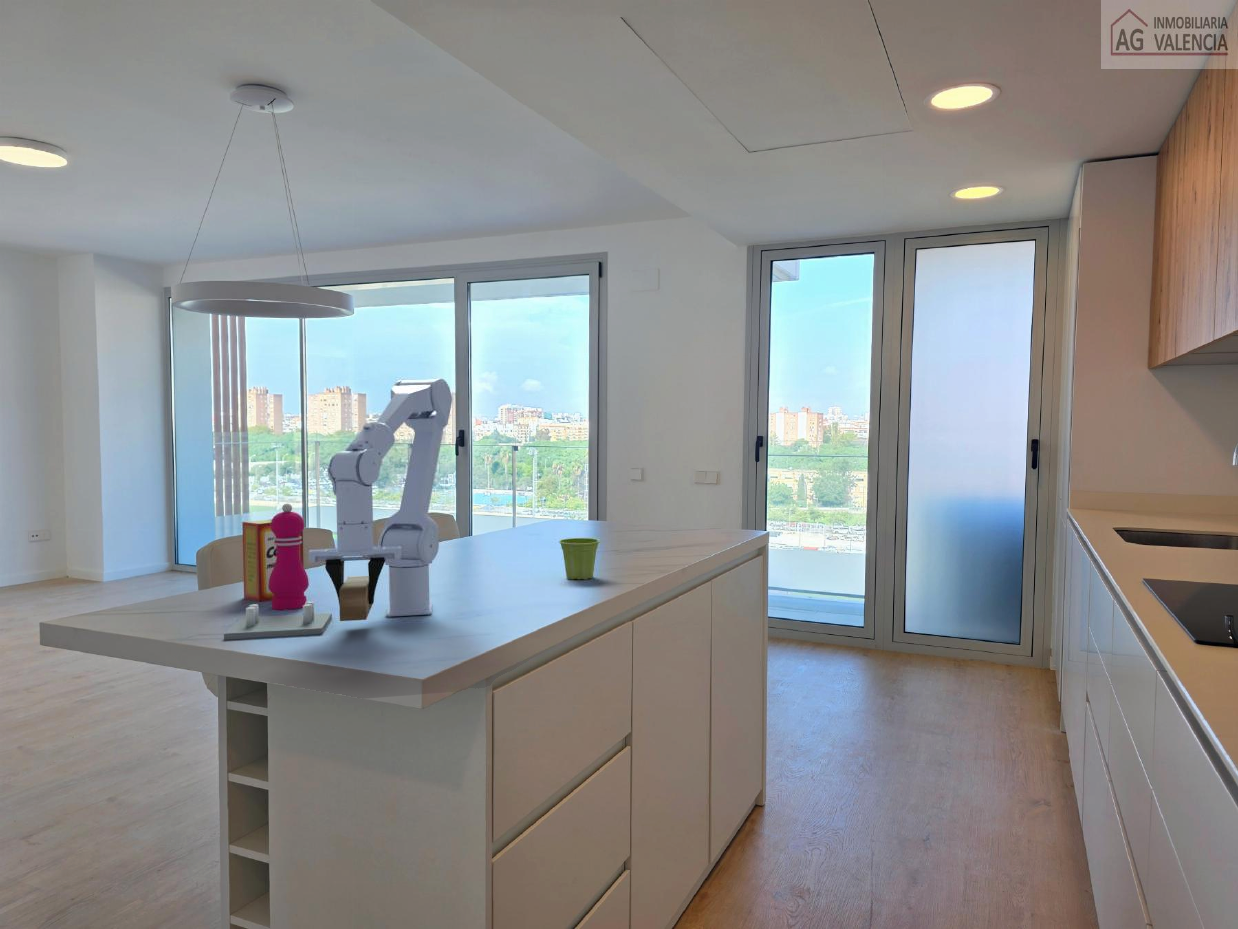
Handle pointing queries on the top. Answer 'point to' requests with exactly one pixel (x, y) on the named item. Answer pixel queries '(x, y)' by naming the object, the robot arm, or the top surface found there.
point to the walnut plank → (354, 599)
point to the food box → (259, 559)
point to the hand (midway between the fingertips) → (356, 603)
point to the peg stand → (278, 624)
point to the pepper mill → (288, 562)
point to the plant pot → (579, 557)
